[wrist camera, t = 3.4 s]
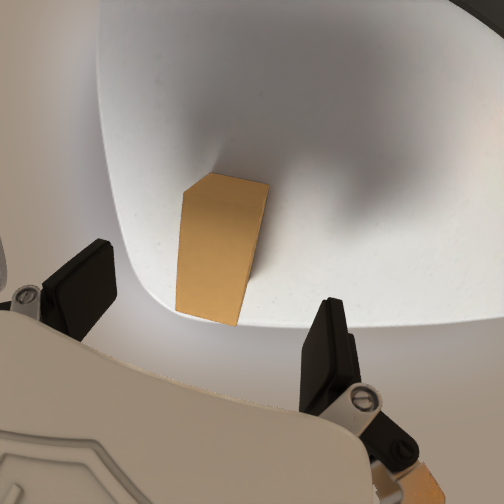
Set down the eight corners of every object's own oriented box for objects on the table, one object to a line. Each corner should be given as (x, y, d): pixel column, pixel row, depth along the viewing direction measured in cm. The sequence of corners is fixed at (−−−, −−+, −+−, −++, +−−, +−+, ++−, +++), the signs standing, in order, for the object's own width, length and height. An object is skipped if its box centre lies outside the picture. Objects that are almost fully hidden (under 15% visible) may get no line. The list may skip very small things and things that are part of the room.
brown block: (197, 271, 19) (174, 310, 15) (209, 172, 16) (183, 192, 12) (247, 283, 19) (236, 327, 15) (269, 184, 16) (262, 208, 12)
